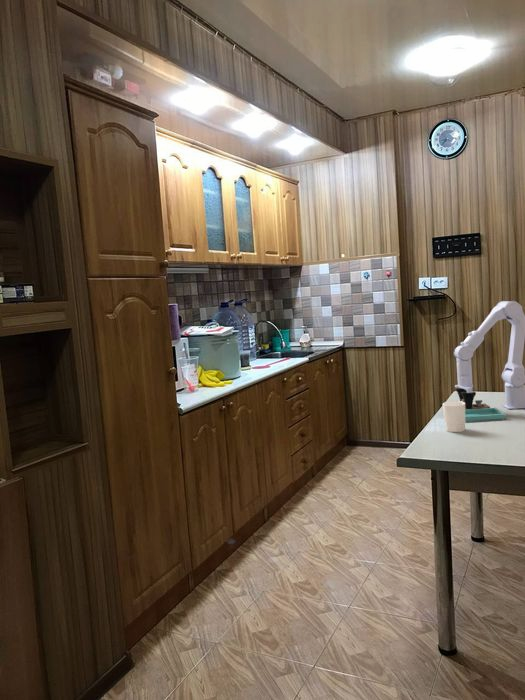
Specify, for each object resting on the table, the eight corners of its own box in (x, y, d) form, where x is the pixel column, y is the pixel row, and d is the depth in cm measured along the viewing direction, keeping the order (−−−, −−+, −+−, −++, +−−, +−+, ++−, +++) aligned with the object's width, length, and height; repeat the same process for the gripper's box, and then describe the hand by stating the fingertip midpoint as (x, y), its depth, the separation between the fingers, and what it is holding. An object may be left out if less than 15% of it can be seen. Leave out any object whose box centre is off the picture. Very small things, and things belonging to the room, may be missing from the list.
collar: (485, 408, 231) (484, 396, 231) (490, 411, 225) (489, 399, 224) (460, 409, 233) (460, 398, 232) (465, 413, 226) (464, 401, 225)
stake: (481, 409, 229) (481, 399, 229) (483, 410, 227) (482, 400, 227) (475, 410, 230) (474, 400, 229) (476, 411, 228) (475, 401, 227)
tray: (495, 412, 222) (495, 407, 222) (505, 419, 211) (505, 414, 210) (454, 415, 224) (454, 410, 224) (462, 422, 212) (462, 417, 212)
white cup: (442, 432, 201) (440, 405, 200) (446, 426, 208) (444, 401, 207) (465, 433, 197) (463, 405, 196) (468, 427, 204) (466, 401, 203)
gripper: (450, 372, 235) (452, 403, 236) (458, 378, 221) (460, 411, 222) (467, 371, 234) (469, 402, 236) (477, 376, 220) (478, 410, 221)
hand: (466, 406), depth 229 cm, fingers open, 7 cm apart
